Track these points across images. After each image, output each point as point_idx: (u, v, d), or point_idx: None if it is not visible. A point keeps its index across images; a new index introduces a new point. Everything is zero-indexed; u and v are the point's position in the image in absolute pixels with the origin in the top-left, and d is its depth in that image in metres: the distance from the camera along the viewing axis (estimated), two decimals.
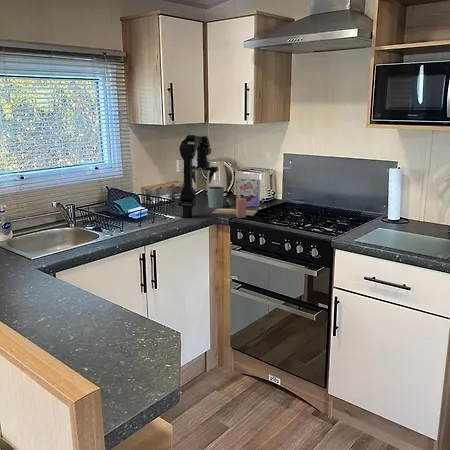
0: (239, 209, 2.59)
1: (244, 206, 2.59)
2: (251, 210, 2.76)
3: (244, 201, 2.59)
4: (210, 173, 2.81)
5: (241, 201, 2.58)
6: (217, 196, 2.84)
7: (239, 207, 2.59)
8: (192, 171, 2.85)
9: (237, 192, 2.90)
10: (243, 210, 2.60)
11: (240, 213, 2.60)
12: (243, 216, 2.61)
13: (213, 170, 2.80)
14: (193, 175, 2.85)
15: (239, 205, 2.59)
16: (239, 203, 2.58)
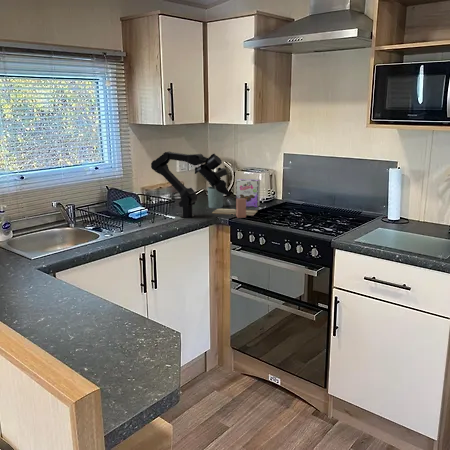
0: (239, 209, 2.59)
1: (244, 206, 2.59)
2: (251, 210, 2.76)
3: (244, 201, 2.59)
4: None
5: (241, 201, 2.58)
6: (217, 196, 2.84)
7: (239, 207, 2.59)
8: (214, 185, 2.62)
9: (237, 192, 2.90)
10: (243, 210, 2.60)
11: (240, 213, 2.60)
12: (243, 216, 2.61)
13: None
14: None
15: (239, 205, 2.59)
16: (239, 203, 2.58)
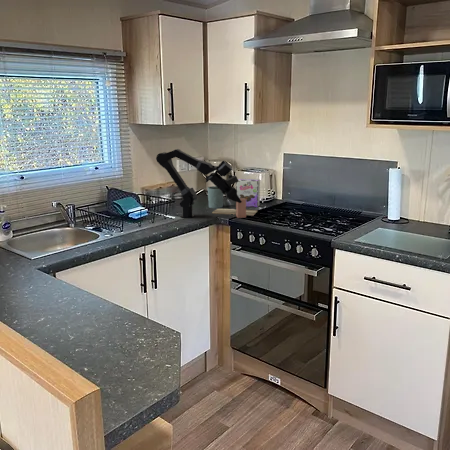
0: (239, 209, 2.59)
1: (244, 206, 2.59)
2: (251, 210, 2.76)
3: (244, 201, 2.59)
4: None
5: None
6: (217, 196, 2.84)
7: (239, 207, 2.59)
8: (225, 193, 2.64)
9: (237, 192, 2.90)
10: (243, 210, 2.60)
11: (240, 213, 2.60)
12: (243, 216, 2.61)
13: (227, 197, 2.50)
14: None
15: (239, 205, 2.59)
16: (239, 203, 2.58)
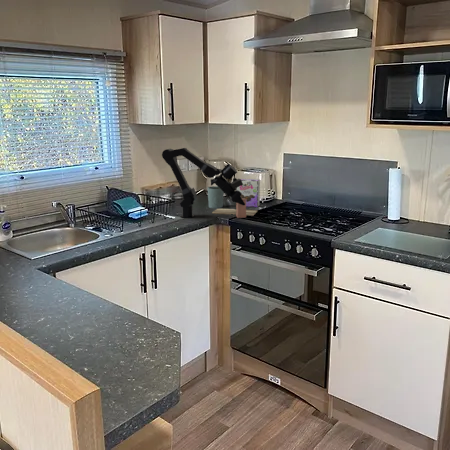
0: (239, 209, 2.59)
1: (244, 206, 2.59)
2: (251, 210, 2.76)
3: (244, 201, 2.59)
4: None
5: None
6: (217, 196, 2.84)
7: (239, 207, 2.59)
8: None
9: None
10: (243, 210, 2.60)
11: (240, 213, 2.60)
12: (243, 216, 2.61)
13: (232, 200, 2.51)
14: None
15: (239, 205, 2.59)
16: None
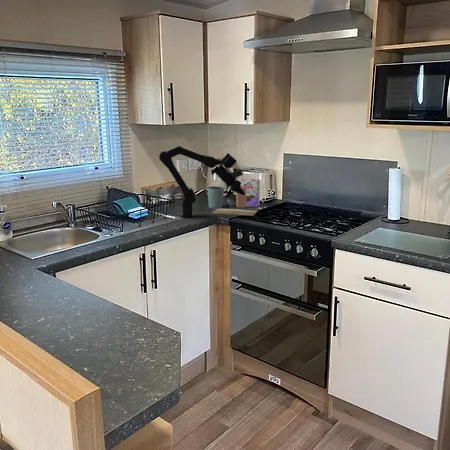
0: (239, 198, 2.62)
1: (244, 196, 2.63)
2: (251, 210, 2.76)
3: (244, 191, 2.62)
4: (233, 190, 2.59)
5: None
6: (217, 196, 2.84)
7: (239, 197, 2.62)
8: None
9: None
10: (243, 200, 2.63)
11: (240, 203, 2.63)
12: (243, 206, 2.64)
13: (232, 190, 2.55)
14: None
15: (239, 195, 2.62)
16: None
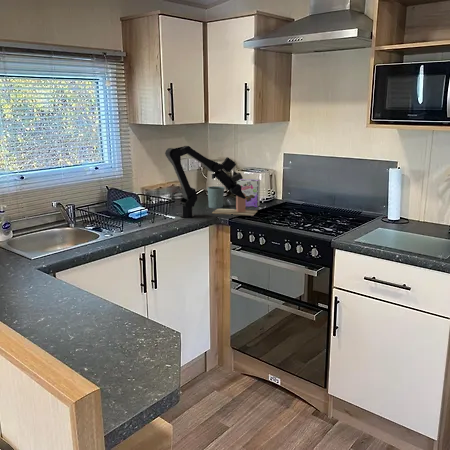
0: (239, 203, 2.72)
1: (244, 201, 2.72)
2: (251, 210, 2.76)
3: None
4: (234, 194, 2.66)
5: None
6: (217, 196, 2.84)
7: (239, 201, 2.71)
8: (230, 189, 2.77)
9: None
10: (243, 204, 2.72)
11: (240, 207, 2.72)
12: (243, 210, 2.73)
13: (232, 193, 2.64)
14: None
15: (239, 200, 2.71)
16: (239, 198, 2.71)
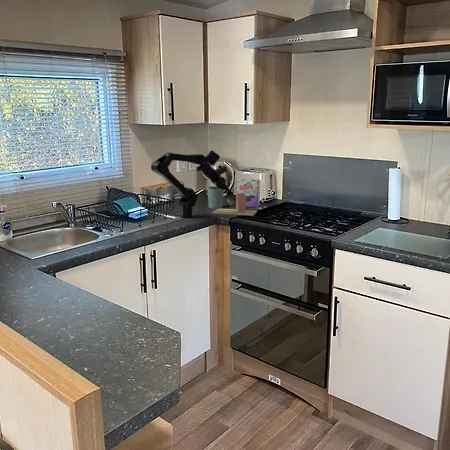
0: (239, 203, 2.72)
1: (244, 201, 2.72)
2: (251, 210, 2.76)
3: (244, 196, 2.71)
4: None
5: (241, 196, 2.71)
6: (217, 196, 2.84)
7: (239, 201, 2.71)
8: (215, 183, 2.74)
9: (237, 192, 2.90)
10: (243, 204, 2.72)
11: (240, 207, 2.72)
12: (243, 210, 2.73)
13: None
14: None
15: (239, 200, 2.71)
16: (239, 198, 2.71)
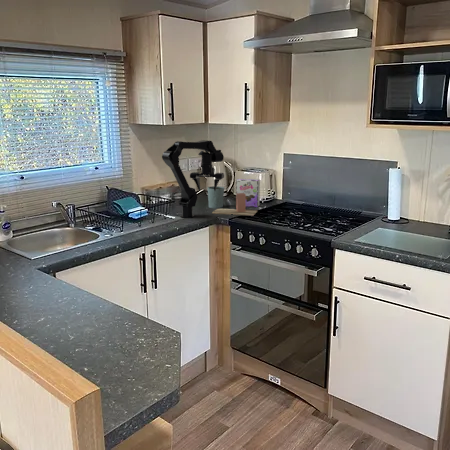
0: (239, 203, 2.72)
1: (244, 201, 2.72)
2: (251, 210, 2.76)
3: (244, 196, 2.71)
4: (215, 180, 2.64)
5: (241, 196, 2.71)
6: (217, 196, 2.84)
7: (239, 201, 2.71)
8: (196, 178, 2.68)
9: (237, 192, 2.90)
10: (243, 204, 2.72)
11: (240, 207, 2.72)
12: (243, 210, 2.73)
13: (219, 177, 2.63)
14: (197, 182, 2.68)
15: (239, 200, 2.71)
16: (239, 198, 2.71)
